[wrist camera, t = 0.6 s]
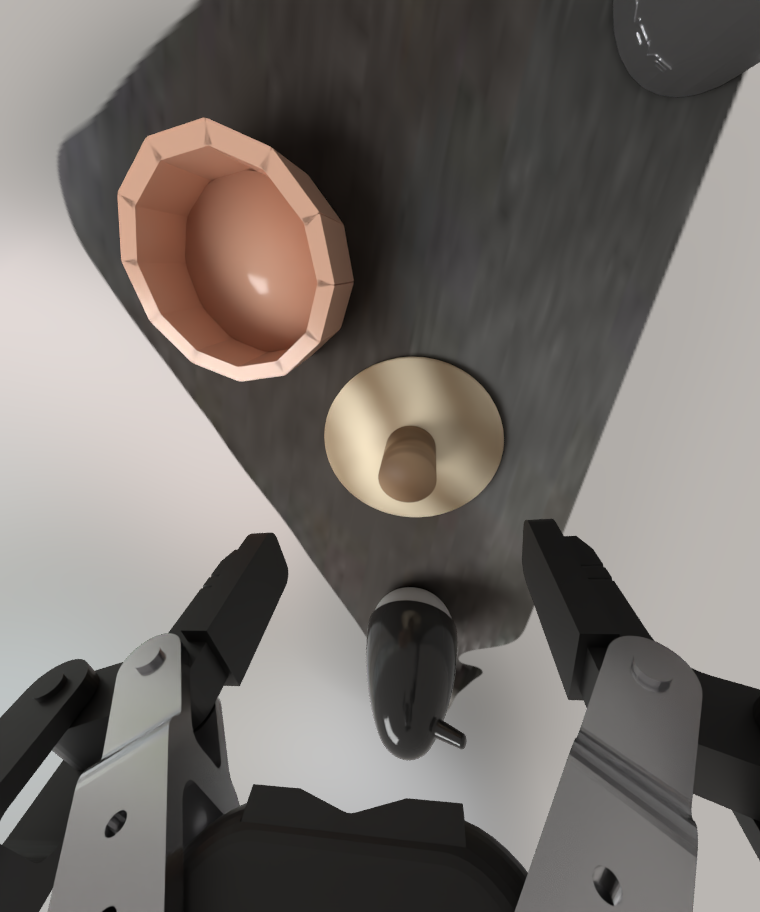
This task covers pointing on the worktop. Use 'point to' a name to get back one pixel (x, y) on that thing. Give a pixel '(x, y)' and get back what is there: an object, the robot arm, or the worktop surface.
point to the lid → (414, 437)
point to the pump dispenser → (412, 671)
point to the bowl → (232, 251)
